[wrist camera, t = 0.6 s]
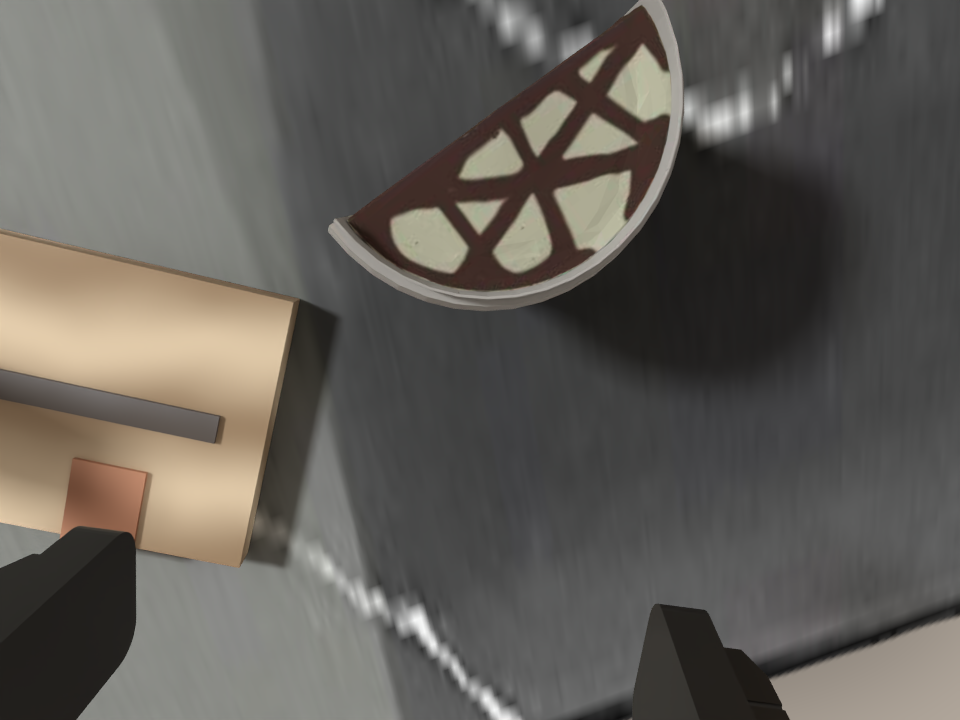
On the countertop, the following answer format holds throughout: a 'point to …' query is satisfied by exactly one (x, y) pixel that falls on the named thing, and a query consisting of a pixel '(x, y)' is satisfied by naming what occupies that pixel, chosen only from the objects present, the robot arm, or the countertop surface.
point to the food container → (536, 180)
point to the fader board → (135, 398)
